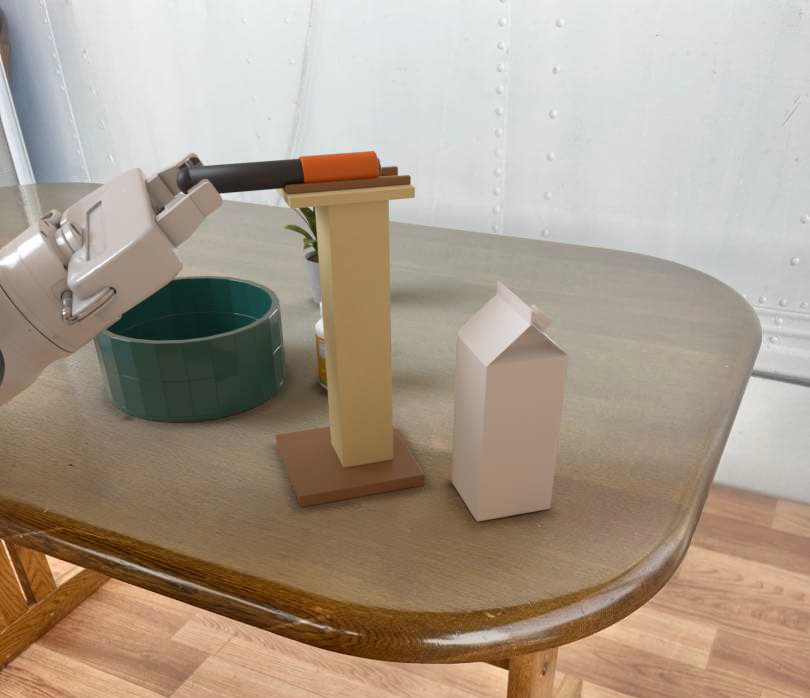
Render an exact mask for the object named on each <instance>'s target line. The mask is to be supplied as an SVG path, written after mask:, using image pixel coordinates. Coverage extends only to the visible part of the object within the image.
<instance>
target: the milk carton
mask: <svg viewBox="0 0 810 698" xmlns="http://www.w3.org/2000/svg"><path fill="white" fill-rule="evenodd" d="M553 322H554V321H553V320H552V318H551V317H549V315H547V314H545V312H543V311H542V310H541V309H540V308H538V306H536V305H535V304H531V305H530V306H529V305H528V304H527V303H525V302H524V301H523V300H522V299H521V298H520V297H519V296H517V295H516V294H515V293H514V292H513V291H512V290H510V288H509V287H507V286H506V285H505V284H504V283H503V282H501V281H497V282H496V293H495V295H494V296H492V298H491V299H489V300H488V301H487V302H486V303H485V304H484V306H482V307H481V308H480V309H479V310H478V311H477V312H476V313H475V314H474V315H473V316H472V317H471V318H470V319H469V320H467V322H466V323H464V325H462V327H460V328H459V330H457V332H456V341H455V342H456V343H455V344H456V345H455V370H454V372H455V373H454V374H455V375H454V399H453V400H454V403H453V428H452V429H453V431H452V456H451V457H452V458H451V459H452V461H451V463H452V464H451V484H452V485H453V487H454V488H455V489H456V491H457V493H458V494H459V496H460V497H461V499H462V501H463V502H464V503H465V505H466V507H467V508H468V511H469V512H470V513H471V515H472V517H473V518H474V519H475V521H476V522H482V521H489V520H494V519H500V518H501V519H502V518H507V517H511V516H518V515H523V514H528V513H533V512H539V511H545V510H550V509H551V504H552V495H553V489H554V479H555V471H556V464H557V456H558V447H559V440H560V439H559V438H560V429H561V423H562V415H563V407H564V406H563V405H564V400H565V399H564V398H565V392H566V391H565V389H566V382H567V374H568V364H569V363H568V362H569V354H568V353H567V352H566V351H565V350H564V349H563V348H561V347H560V346H559V345H558V344H557V343H556V342H555V341H554V340H553V339H551V338H550V337H549V336H548V335H547V334H546V333H545V332H546V331H547V330H548V328H549V327H550V326H551V325H552V323H553Z"/></svg>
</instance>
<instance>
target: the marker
mask: <svg viewBox="0 0 810 698" xmlns="http://www.w3.org/2000/svg"><path fill="white" fill-rule="evenodd" d="M382 167H383V166H382V162H381V160H380V158H379V157H378V155H377V153H376V151H374V150H369V151H368V150H367V151H354V152H342V153H328V154H315V155H304V156H303V155H301V156H298V158H291V159H290V158H289V159H275V160H264V161H249V162H248V161H247V162H238V163H237V162H236V163H223V164H210V165H205V166H195V167H185V168H183V169H181V170H180V171H179V173H178V174H177V179H176V181H177V186H178V188H179V189H180V191H181V192H180V193H182V194H183V195H184V196H186V195H187V194H188V190H189V189H191V188H192V187H193V186H195V185H197V184H198V183H199V182H200V181H201V180H203V179H208V180H209V181H211V183H212V184H213V185H214V187H215V188H216V189H217V191H218V192H219V194H220V195H222V194H233V193H245V192H256V191H268V190H276V189H282V188H286V187H285V186H286V185H291V184H304V183H316V182H328V181H341V180H353V179H366V178H378V177H379V175H380V173H381V170H382Z"/></svg>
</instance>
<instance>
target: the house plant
mask: <svg viewBox="0 0 810 698" xmlns="http://www.w3.org/2000/svg"><path fill="white" fill-rule="evenodd" d="M298 209H299V211H300V212H301V213H302V215H303V216H304V217H305V218H304V217H303V216H302V215H301V214H300V212H299V211H298V210H297V208H294V209H293V211H295V212H296V213H297V214H298V215H299V217H301V219H302V220H303V221H304V222H305V223H306V225H307V226H308V227H309V229H310V231H311V233H312V235H313V236H314V238H315V239H314V238H313V237H312V235H311V234H310V233H308V232H307V230H305V229H304V228H302V227H300V226H298V225H296V224H286V225H285V226H283V229H284V230H285V229H286V230H289V231H292V232H296V233H298V234H300V235H303V236H304V237H303V239H302V240H303V250H302V253H304V252H305V251H306V250H307V249H310V248H311V247H313V250H311V251H308V252H306V253H304V255H303V261H304V265H305V266H304V267H305V269H306V273H307V278H308V281H309V282H308V283H309V286H310V289H311V293H312V299H313V301H314V303H315V304H317V305H319V306H320V302H321V286H320V271H319V257H318V242H317V228H316V213H315V207H312V208H311V207H305V208H298Z"/></svg>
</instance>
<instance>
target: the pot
mask: <svg viewBox="0 0 810 698" xmlns="http://www.w3.org/2000/svg"><path fill="white" fill-rule="evenodd" d="M280 304H281V303H280V300H279V297H278V296H277V294H276V292H275V291H274V290H272V289H271V288H269V287H268V286H266V285H264V284H262V283H259V282H256V281H253V280H249V279H243V278H238V277H232V276H219V275H194V276H193V275H189V276H179V277H175V278H174V279H173V280H172V281H171V282H169V283H168V284H167V285H165V286H164V287H163V288H161V289H160V290H158V291H157V292H155V293H154V294H152V295H151V296H149V297H148V298H146V299H145V300H143V301H142V302H140V303H139V304H137V305H136V306H134V307H133V308H131V309H130V310H128V311H127V312H125V313H123V314H122V316H121V318H120V320H118V321H117V322H115V323H114V324H113V325H111V326H110V327H109V328H107V329H106V330H105V331H103V332H102V333H100V334H99V335H98V336H97V337H95V338H94V339H93V340H92V341H93V343H94V348H95V351H96V356H97V358H98V363H99V368H100V371H101V376H102V380H103V384H104V387H105V391H106V394H107V397H108V399H109V401H110V403H111V404H112V405H113V406H114V407H115V408H116V409H118V410H120V411H121V412H123V413H125V414H127V415H129V416H132V417H135V418H139V419H144V420H147V421H155V422H163V423H190V422H191V423H192V422H194V423H195V422H204V421H210V420H216V419H221V418H225V417H230V416H234V415H237V414H239V413H243V412H245V411H249V410H250V409H253V408H256V407H257V406H259V405H261V404H264V403H265V402H267V401H269V400H270V399H271V398H273V397H274V396H275V395H277V393H278V392H280V390H281V389H282V388H283V386H284V384H285V382H286V379H287V364H286V355H285V344H284V335H283V334H284V333H283V324H282V323H283V322H282V314H281V305H280Z"/></svg>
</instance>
